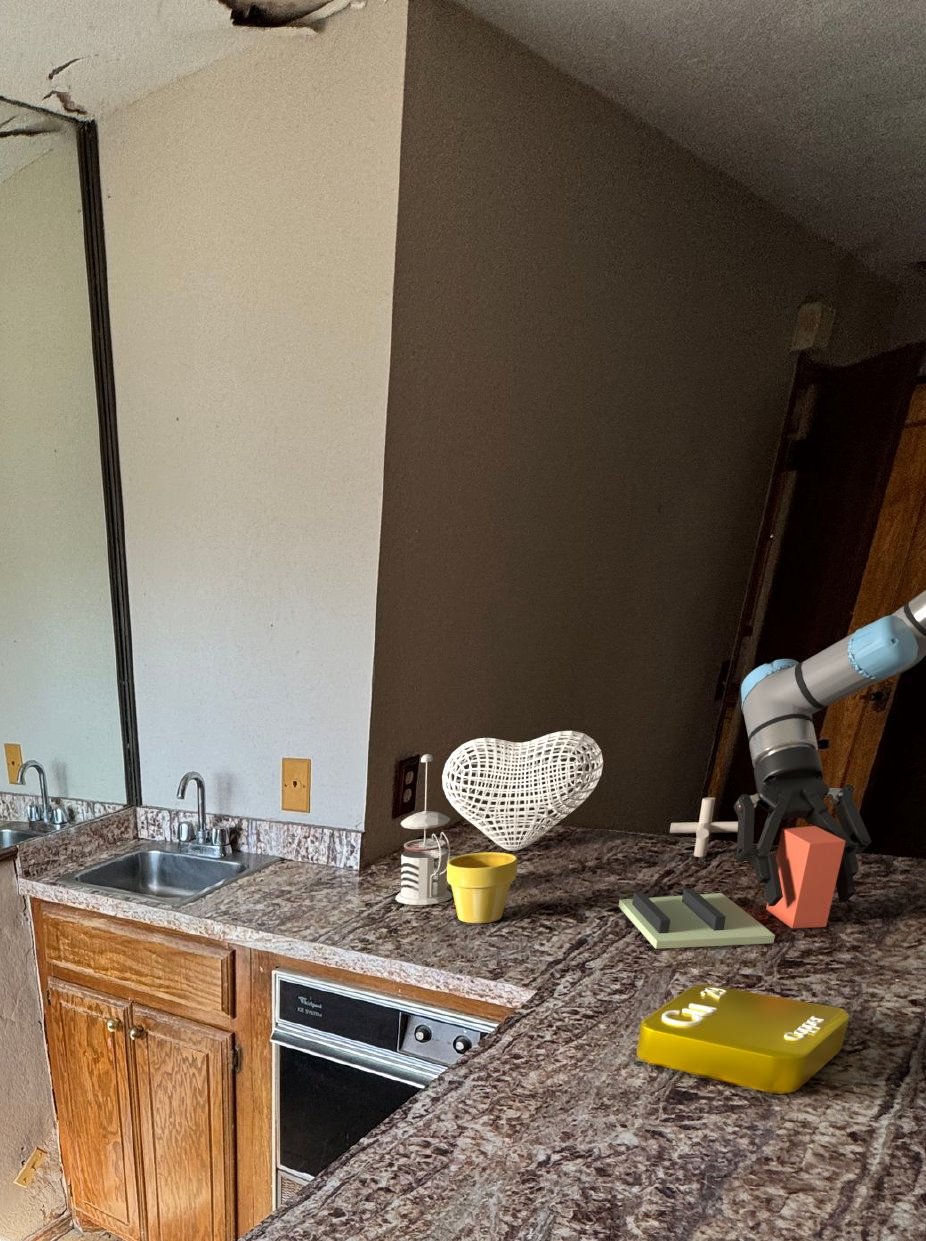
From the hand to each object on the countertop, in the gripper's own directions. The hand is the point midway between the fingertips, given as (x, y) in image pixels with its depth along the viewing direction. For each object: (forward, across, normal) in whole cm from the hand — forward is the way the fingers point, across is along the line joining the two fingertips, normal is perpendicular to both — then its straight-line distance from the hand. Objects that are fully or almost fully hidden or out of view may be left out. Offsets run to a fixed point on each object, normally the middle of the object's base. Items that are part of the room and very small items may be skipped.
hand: (811, 899), depth 122 cm
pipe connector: (-25, +1, -31) cm, 40 cm away
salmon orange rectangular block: (0, 0, -5) cm, 5 cm away
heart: (-35, +29, -41) cm, 61 cm away
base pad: (0, +13, -5) cm, 14 cm away
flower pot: (-6, +41, -11) cm, 43 cm away
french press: (-15, +48, -21) cm, 54 cm away
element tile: (+31, +21, +25) cm, 45 cm away
